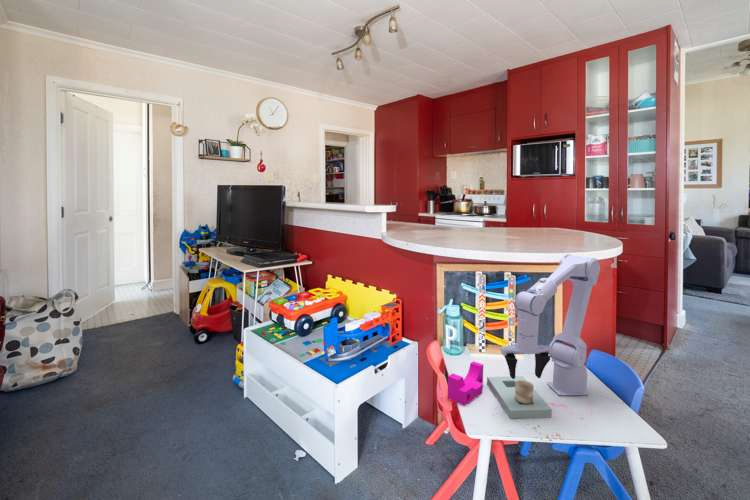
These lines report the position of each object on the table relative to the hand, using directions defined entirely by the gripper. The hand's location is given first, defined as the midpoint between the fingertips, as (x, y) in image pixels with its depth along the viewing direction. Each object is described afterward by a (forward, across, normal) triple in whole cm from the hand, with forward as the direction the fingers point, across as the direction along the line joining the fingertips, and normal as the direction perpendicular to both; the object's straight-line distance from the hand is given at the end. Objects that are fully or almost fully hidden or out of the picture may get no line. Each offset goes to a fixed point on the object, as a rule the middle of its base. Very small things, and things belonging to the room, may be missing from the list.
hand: (525, 376), depth 112 cm
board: (+10, 0, -5) cm, 11 cm away
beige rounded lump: (+10, 0, 0) cm, 10 cm away
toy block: (+10, +14, -10) cm, 20 cm away
